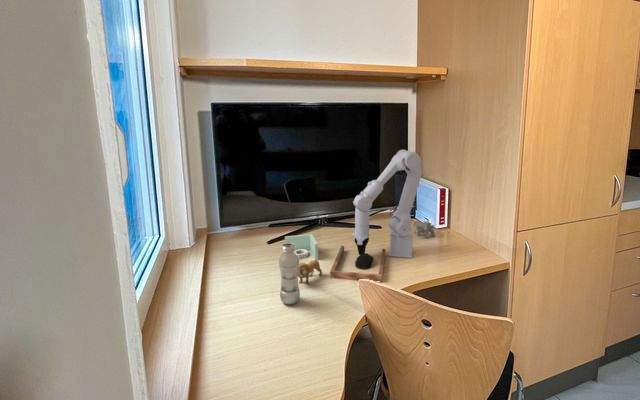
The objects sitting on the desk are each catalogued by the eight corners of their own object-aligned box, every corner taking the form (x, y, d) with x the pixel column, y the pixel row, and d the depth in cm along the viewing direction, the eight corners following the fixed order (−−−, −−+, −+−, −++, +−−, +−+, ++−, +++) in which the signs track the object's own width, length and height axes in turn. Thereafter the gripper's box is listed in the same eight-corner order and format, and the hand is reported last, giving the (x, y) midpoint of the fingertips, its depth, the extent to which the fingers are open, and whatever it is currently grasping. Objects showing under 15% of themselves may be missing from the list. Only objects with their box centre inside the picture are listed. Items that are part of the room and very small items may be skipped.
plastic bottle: (289, 294, 121) (287, 239, 116) (304, 300, 117) (302, 244, 112) (276, 302, 117) (273, 246, 111) (291, 309, 112) (288, 251, 107)
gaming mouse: (376, 256, 151) (376, 247, 150) (369, 271, 138) (369, 261, 137) (362, 254, 153) (362, 245, 152) (353, 268, 140) (353, 259, 139)
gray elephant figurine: (436, 235, 173) (437, 220, 171) (429, 242, 163) (430, 226, 161) (417, 232, 178) (418, 217, 176) (409, 239, 168) (410, 223, 166)
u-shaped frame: (385, 254, 152) (385, 249, 151) (381, 282, 128) (381, 276, 128) (341, 251, 156) (341, 245, 155) (330, 277, 132) (329, 271, 132)
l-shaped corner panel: (285, 252, 156) (285, 236, 154) (312, 249, 159) (312, 234, 157) (289, 264, 145) (288, 247, 143) (318, 260, 148) (317, 244, 146)
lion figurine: (305, 290, 124) (305, 267, 121) (292, 287, 126) (292, 264, 124) (325, 273, 136) (324, 251, 134) (312, 270, 139) (312, 249, 136)
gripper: (354, 217, 153) (354, 247, 156) (349, 229, 139) (349, 261, 143) (371, 218, 151) (370, 248, 155) (367, 230, 138) (367, 262, 141)
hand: (361, 254), depth 149 cm, fingers closed
